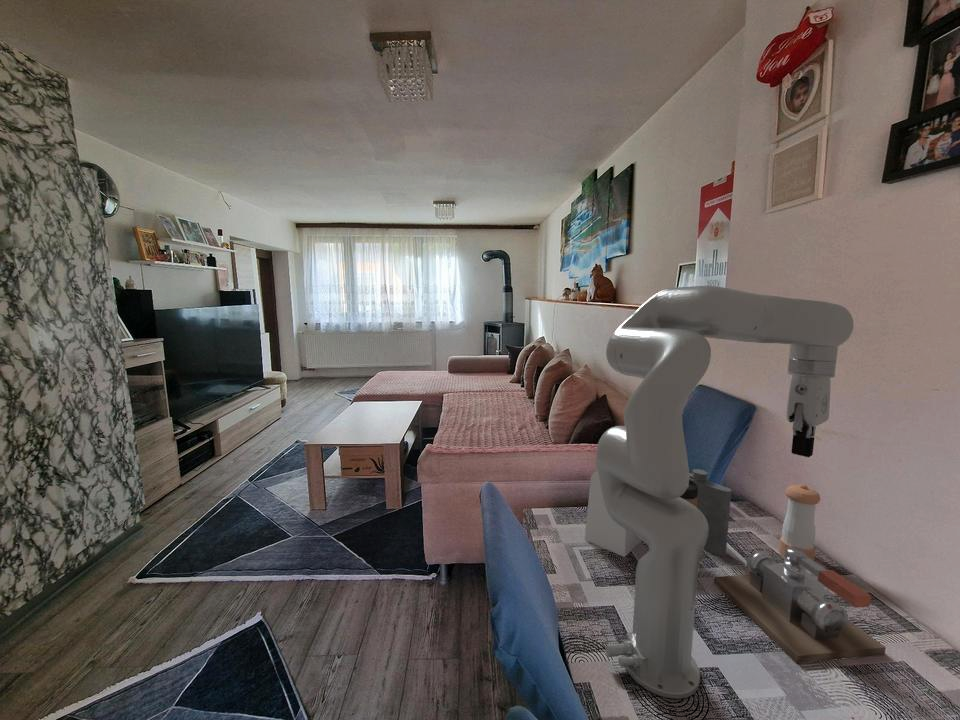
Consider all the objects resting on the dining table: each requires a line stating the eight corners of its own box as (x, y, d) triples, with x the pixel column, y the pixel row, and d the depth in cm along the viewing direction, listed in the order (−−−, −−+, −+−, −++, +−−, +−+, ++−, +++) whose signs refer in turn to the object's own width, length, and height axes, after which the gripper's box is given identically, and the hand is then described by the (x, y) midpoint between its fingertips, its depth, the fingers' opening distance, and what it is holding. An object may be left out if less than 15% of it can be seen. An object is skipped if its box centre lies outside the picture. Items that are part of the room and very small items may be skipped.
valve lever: (781, 557, 85) (782, 546, 85) (795, 556, 86) (796, 545, 85) (853, 610, 70) (855, 596, 70) (870, 609, 71) (872, 595, 70)
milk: (605, 523, 121) (609, 438, 118) (643, 538, 113) (649, 448, 110) (584, 539, 113) (588, 448, 110) (624, 557, 105) (630, 459, 102)
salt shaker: (815, 554, 107) (823, 484, 104) (812, 567, 101) (821, 493, 99) (780, 543, 112) (787, 476, 109) (776, 555, 106) (784, 484, 104)
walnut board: (796, 663, 73) (797, 655, 73) (713, 582, 95) (714, 576, 95) (884, 654, 76) (885, 647, 75) (783, 577, 97) (784, 571, 97)
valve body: (814, 644, 76) (820, 594, 75) (742, 580, 94) (746, 539, 92) (848, 641, 77) (854, 591, 75) (770, 578, 94) (774, 538, 93)
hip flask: (728, 553, 107) (735, 480, 104) (718, 558, 105) (725, 483, 102) (674, 525, 121) (679, 460, 118) (665, 528, 119) (669, 462, 116)
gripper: (823, 373, 76) (812, 468, 78) (845, 367, 85) (835, 452, 87) (775, 368, 82) (767, 456, 84) (800, 363, 91) (792, 443, 93)
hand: (801, 454), depth 86 cm, fingers closed
